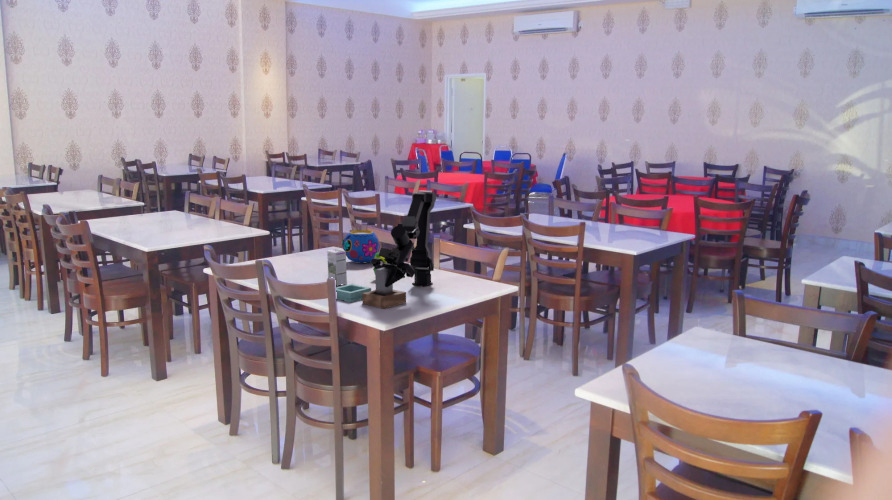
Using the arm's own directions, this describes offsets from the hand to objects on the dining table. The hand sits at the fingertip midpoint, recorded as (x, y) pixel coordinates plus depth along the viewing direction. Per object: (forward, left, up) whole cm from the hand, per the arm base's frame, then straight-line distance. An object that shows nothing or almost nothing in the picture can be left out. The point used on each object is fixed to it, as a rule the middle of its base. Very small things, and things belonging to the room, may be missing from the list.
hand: (381, 285), depth 255 cm
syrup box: (-37, +11, -7) cm, 39 cm away
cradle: (-17, 0, -7) cm, 18 cm away
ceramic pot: (-63, +50, -7) cm, 81 cm away
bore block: (0, +1, -7) cm, 7 cm away
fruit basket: (-30, +32, -7) cm, 45 cm away
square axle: (0, +1, -7) cm, 7 cm away
